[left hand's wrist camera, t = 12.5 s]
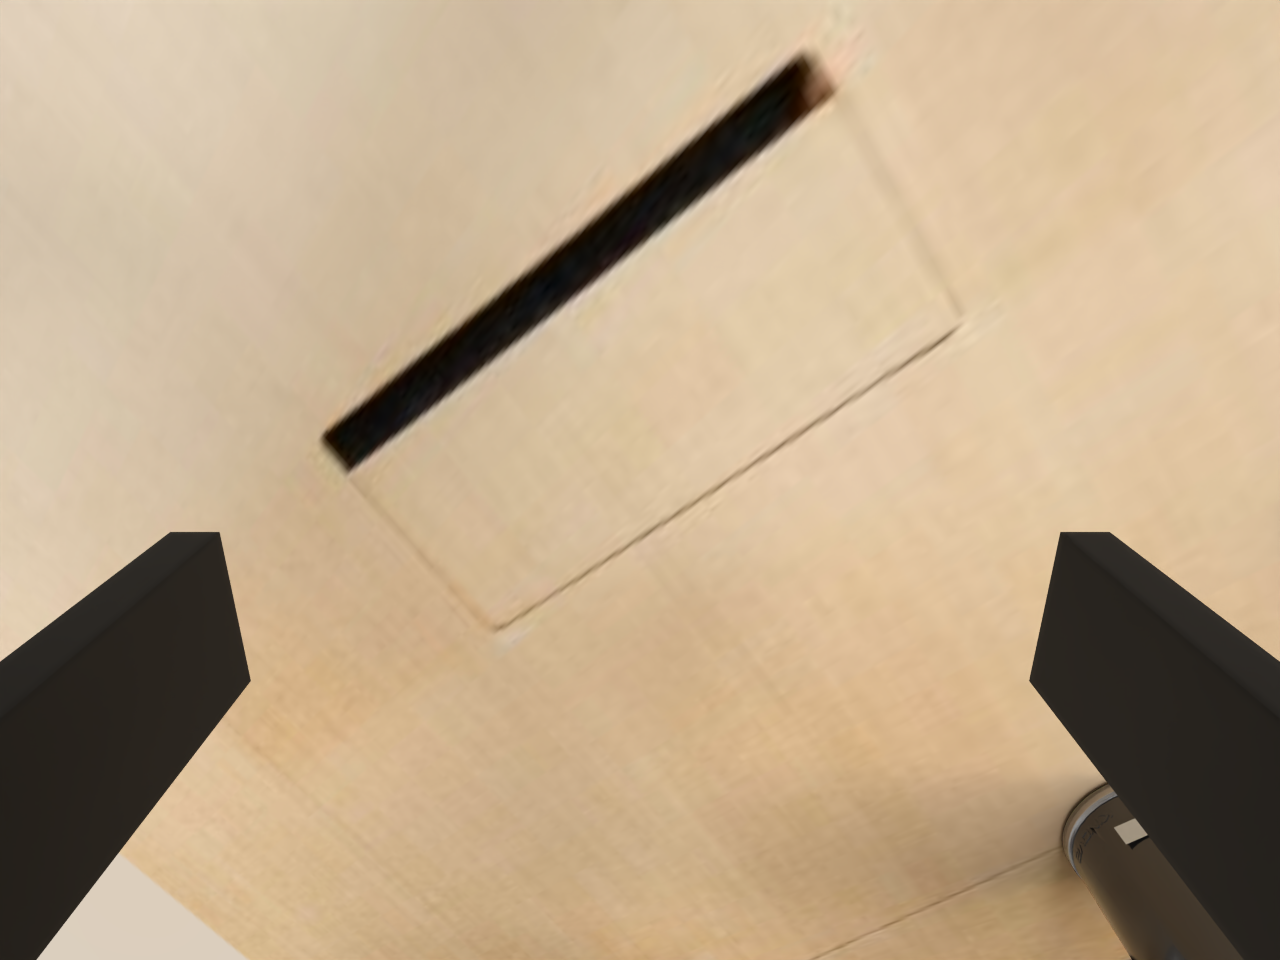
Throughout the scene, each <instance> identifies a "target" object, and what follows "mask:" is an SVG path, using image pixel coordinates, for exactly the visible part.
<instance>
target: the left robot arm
mask: <svg viewBox="0 0 1280 960" xmlns="http://www.w3.org/2000/svg"><path fill="white" fill-rule="evenodd" d="M250 681H251V680H250V675H249V670H248V665H247V661H246V656H245V651H244V646H243V642H242V637H241V632H240V627H239V623H238V618H237V613H236V608H235V604H234V599H233V594H232V589H231V585H230V580H229V575H228V570H227V566H226V561H225V556H224V551H223V547H222V542H221V537H220V532H170V533H169V534H167V535H166V536H165V537H163V538H162V539H161V540H159V541H158V542H157V543H155V544H154V545H153V546H152V547H150V548H149V549H148V550H146V551H145V552H144V553H142V554H141V555H140V556H138V557H137V558H136V559H134V560H133V561H132V562H131V563H129V564H128V565H127V566H125V567H124V568H123V569H121V570H120V571H119V572H117V573H116V574H115V575H113V576H112V577H111V578H110V579H108V580H107V581H106V582H104V583H103V584H102V585H100V586H99V587H98V588H96V589H95V590H94V591H92V592H91V593H90V594H89V595H87V596H86V597H85V598H83V599H82V600H81V601H79V602H78V603H77V604H75V605H74V606H73V607H71V608H70V609H69V610H68V611H66V612H65V613H64V614H62V615H61V616H60V617H58V618H57V619H56V620H54V621H53V622H52V623H50V624H49V625H48V626H47V627H45V628H44V629H43V630H41V631H40V632H39V633H37V634H36V635H35V636H33V637H32V638H31V639H29V640H28V641H27V642H26V643H24V644H23V645H22V646H20V647H19V648H18V649H16V650H15V651H14V652H12V653H11V654H10V655H8V656H7V657H6V658H5V659H3V660H2V661H1V662H0V960H37V958H38V957H39V956H40V954H41V953H42V952H43V950H44V949H45V948H46V947H47V945H48V944H49V943H50V941H51V940H52V939H53V937H54V936H55V935H56V934H57V932H58V931H59V930H60V928H61V927H62V926H63V924H64V923H65V922H66V921H67V919H68V918H69V917H70V915H71V914H72V913H73V911H74V910H75V909H76V907H77V906H78V905H79V904H80V902H81V901H82V900H83V898H84V897H85V896H86V894H87V893H88V892H89V891H90V889H91V888H92V887H93V885H94V884H95V883H96V881H97V880H98V879H99V878H100V876H101V875H102V874H103V872H104V871H105V870H106V868H107V867H108V866H109V865H110V863H111V862H112V861H113V859H114V858H115V857H116V855H117V854H118V853H119V852H120V850H121V849H122V848H123V846H124V845H125V844H126V842H127V841H128V840H129V839H130V837H131V836H132V835H133V833H134V832H135V831H136V829H137V828H138V827H139V826H140V824H141V823H142V822H143V820H144V819H145V818H146V816H147V815H148V814H149V813H150V811H151V810H152V809H153V807H154V806H155V805H156V803H157V802H158V801H159V800H160V798H161V797H162V796H163V794H164V793H165V792H166V790H167V789H168V788H169V787H170V785H171V784H172V783H173V781H174V780H175V779H176V777H177V776H178V775H179V774H180V772H181V771H182V770H183V768H184V767H185V766H186V764H187V763H188V762H189V760H190V759H191V758H192V757H193V755H194V754H195V753H196V751H197V750H198V749H199V747H200V746H201V745H202V744H203V742H204V741H205V740H206V738H207V737H208V736H209V734H210V733H211V732H212V731H213V729H214V728H215V727H216V725H217V724H218V723H219V721H220V720H221V719H222V718H223V716H224V715H225V714H226V712H227V711H228V710H229V708H230V707H231V706H232V705H233V703H234V702H235V701H236V699H237V698H238V697H239V695H240V694H241V693H242V692H243V690H244V689H245V688H246V686H247V685H248V684H249V682H250ZM1029 681H1030V682H1031V684H1032V685H1033V686H1034V688H1035V689H1036V690H1037V692H1038V693H1039V694H1040V695H1041V697H1042V698H1043V699H1044V701H1045V702H1046V703H1047V705H1048V706H1049V707H1050V708H1051V710H1052V711H1053V712H1054V714H1055V715H1056V716H1057V718H1058V719H1059V720H1060V721H1061V723H1062V724H1063V725H1064V727H1065V728H1066V729H1067V731H1068V732H1069V733H1070V734H1071V736H1072V737H1073V738H1074V740H1075V741H1076V742H1077V744H1078V745H1079V746H1080V747H1081V749H1082V750H1083V751H1084V753H1085V754H1086V755H1087V757H1088V758H1089V759H1090V760H1091V762H1092V763H1093V764H1094V766H1095V767H1096V768H1097V770H1098V771H1099V772H1100V774H1101V775H1102V776H1103V777H1104V779H1105V780H1106V781H1107V783H1108V784H1109V785H1110V787H1111V788H1112V789H1113V790H1114V792H1115V793H1116V794H1117V796H1118V797H1119V798H1120V800H1121V801H1122V802H1123V803H1124V805H1125V806H1126V807H1127V809H1128V810H1129V811H1130V813H1131V814H1132V815H1133V816H1134V818H1135V819H1136V820H1137V822H1138V823H1139V824H1140V826H1141V827H1142V828H1143V829H1144V831H1145V832H1146V833H1147V835H1148V836H1149V837H1150V839H1151V840H1152V841H1153V842H1154V844H1155V845H1156V846H1157V848H1158V849H1159V850H1160V852H1161V853H1162V854H1163V855H1164V857H1165V858H1166V859H1167V861H1168V862H1169V863H1170V865H1171V866H1172V867H1173V868H1174V870H1175V871H1176V872H1177V874H1178V875H1179V876H1180V878H1181V879H1182V880H1183V881H1184V883H1185V884H1186V885H1187V887H1188V888H1189V889H1190V891H1191V892H1192V893H1193V894H1194V896H1195V897H1196V898H1197V900H1198V901H1199V902H1200V904H1201V905H1202V906H1203V907H1204V909H1205V910H1206V911H1207V913H1208V914H1209V915H1210V917H1211V918H1212V919H1213V921H1214V922H1215V923H1216V924H1217V926H1218V927H1219V928H1220V930H1221V931H1222V932H1223V934H1224V935H1225V936H1226V937H1227V939H1228V940H1229V941H1230V943H1231V944H1232V945H1233V947H1234V948H1235V949H1236V950H1237V952H1238V953H1239V954H1240V956H1241V957H1242V958H1243V960H1280V662H1279V661H1278V660H1277V659H1275V658H1274V657H1273V656H1272V655H1270V654H1269V653H1268V652H1266V651H1265V650H1264V649H1262V648H1261V647H1260V646H1258V645H1257V644H1256V643H1254V642H1253V641H1252V640H1251V639H1249V638H1248V637H1247V636H1245V635H1244V634H1243V633H1241V632H1240V631H1239V630H1237V629H1236V628H1235V627H1233V626H1232V625H1231V624H1230V623H1228V622H1227V621H1226V620H1224V619H1223V618H1222V617H1220V616H1219V615H1218V614H1216V613H1215V612H1214V611H1212V610H1211V609H1210V608H1209V607H1207V606H1206V605H1205V604H1203V603H1202V602H1201V601H1199V600H1198V599H1197V598H1195V597H1194V596H1193V595H1191V594H1190V593H1189V592H1188V591H1186V590H1185V589H1184V588H1182V587H1181V586H1180V585H1178V584H1177V583H1176V582H1174V581H1173V580H1172V579H1170V578H1169V577H1168V576H1167V575H1165V574H1164V573H1163V572H1161V571H1160V570H1159V569H1157V568H1156V567H1155V566H1153V565H1152V564H1151V563H1149V562H1148V561H1147V560H1146V559H1144V558H1143V557H1142V556H1140V555H1139V554H1138V553H1136V552H1135V551H1134V550H1132V549H1131V548H1130V547H1128V546H1127V545H1126V544H1125V543H1123V542H1122V541H1121V540H1119V539H1118V538H1117V537H1115V536H1114V535H1113V534H1111V533H1110V532H1060V537H1059V542H1058V547H1057V551H1056V556H1055V561H1054V566H1053V570H1052V575H1051V580H1050V585H1049V589H1048V594H1047V599H1046V604H1045V608H1044V613H1043V618H1042V623H1041V627H1040V632H1039V637H1038V642H1037V646H1036V651H1035V656H1034V661H1033V665H1032V670H1031V675H1030V680H1029Z"/></svg>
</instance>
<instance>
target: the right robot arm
mask: <svg viewBox="0 0 1280 960" xmlns="http://www.w3.org/2000/svg"><path fill="white" fill-rule="evenodd" d="M1062 840H1063V849H1064V852H1065V855H1066V857H1067V859H1068V861H1069V862H1070V864H1071V865H1072V867H1073V869H1074V870H1075V872H1076V873H1077V875H1078V876H1079V877H1080V878H1081V879H1082V880H1083V881H1084V883H1085V885H1086V886H1087V888H1088V889H1089V891H1090V893H1091V894H1092V896H1093V897H1094V899H1095V901H1096V902H1097V904H1098V906H1099V908H1100V909H1101V911H1102V912H1103V914H1104V916H1105V917H1106V919H1107V920H1108V922H1109V924H1110V925H1111V927H1112V928H1113V930H1114V932H1115V933H1116V935H1117V936H1118V938H1119V940H1120V941H1121V943H1122V944H1123V946H1124V948H1125V949H1126V951H1127V952H1128V954H1129V956H1130V957H1131V959H1132V960H1243V958H1242V957H1241V956H1240V954H1239V953H1238V952H1237V950H1236V949H1235V948H1234V947H1233V945H1232V944H1231V943H1230V941H1229V940H1228V939H1227V937H1226V936H1225V935H1224V934H1223V932H1222V931H1221V930H1220V928H1219V927H1218V926H1217V924H1216V923H1215V922H1214V921H1213V919H1212V918H1211V917H1210V915H1209V914H1208V913H1207V911H1206V910H1205V909H1204V907H1203V906H1202V905H1201V904H1200V902H1199V901H1198V900H1197V898H1196V897H1195V896H1194V894H1193V893H1192V892H1191V891H1190V889H1189V888H1188V887H1187V885H1186V884H1185V883H1184V881H1183V880H1182V879H1181V878H1180V876H1179V875H1178V874H1177V872H1176V871H1175V870H1174V868H1173V867H1172V866H1171V865H1170V863H1169V862H1168V861H1167V859H1166V858H1165V857H1164V855H1163V854H1162V853H1161V852H1160V850H1159V849H1158V848H1157V846H1156V845H1155V844H1154V842H1153V841H1152V840H1151V839H1150V837H1149V836H1148V835H1147V833H1146V832H1145V831H1144V829H1143V828H1142V827H1141V826H1140V824H1139V823H1138V822H1137V820H1136V819H1135V818H1134V816H1133V815H1132V814H1131V813H1130V811H1129V810H1128V809H1127V807H1126V806H1125V805H1124V803H1123V802H1122V801H1121V800H1120V798H1119V797H1118V796H1117V794H1116V793H1115V792H1114V790H1113V789H1112V788H1111V787H1110V785H1109V784H1107V785H1105V786H1103V787H1101V788H1099V789H1098V790H1096V791H1094V792H1093V793H1091V794H1090V795H1089V796H1087V797H1086V798H1085V799H1084V800H1083V801H1082V802H1081V803H1080V804H1079V805H1078V806H1077V807H1076V808H1075V809H1074V811H1073V812H1072V813H1071V815H1070V817H1069V818H1068V820H1067V823H1066V825H1065V828H1064V832H1063V839H1062Z"/></svg>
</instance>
